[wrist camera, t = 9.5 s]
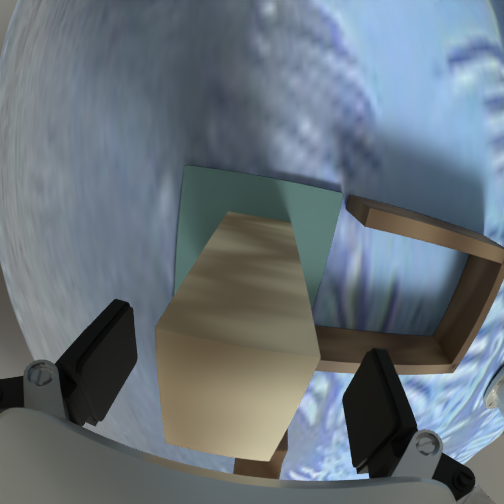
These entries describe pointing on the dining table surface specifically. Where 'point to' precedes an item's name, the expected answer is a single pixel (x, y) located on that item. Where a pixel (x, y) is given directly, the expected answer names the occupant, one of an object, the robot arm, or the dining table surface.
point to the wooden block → (264, 463)
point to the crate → (456, 316)
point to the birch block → (237, 342)
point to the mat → (256, 204)
